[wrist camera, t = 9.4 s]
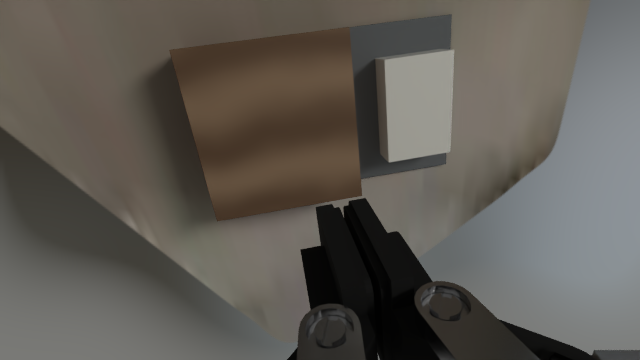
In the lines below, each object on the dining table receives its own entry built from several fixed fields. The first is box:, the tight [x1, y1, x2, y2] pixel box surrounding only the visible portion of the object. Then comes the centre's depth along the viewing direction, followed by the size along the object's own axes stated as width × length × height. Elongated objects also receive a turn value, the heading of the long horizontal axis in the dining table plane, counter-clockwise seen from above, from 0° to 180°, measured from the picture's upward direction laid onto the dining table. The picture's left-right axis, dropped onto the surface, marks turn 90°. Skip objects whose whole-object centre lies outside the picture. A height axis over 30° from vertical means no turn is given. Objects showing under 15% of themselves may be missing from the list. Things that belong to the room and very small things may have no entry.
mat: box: [350, 14, 452, 179], centre depth 31 cm, size 14×10×1 cm
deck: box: [169, 27, 362, 221], centre depth 29 cm, size 14×13×4 cm
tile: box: [375, 49, 454, 162], centre depth 30 cm, size 9×6×2 cm, turn 7°
